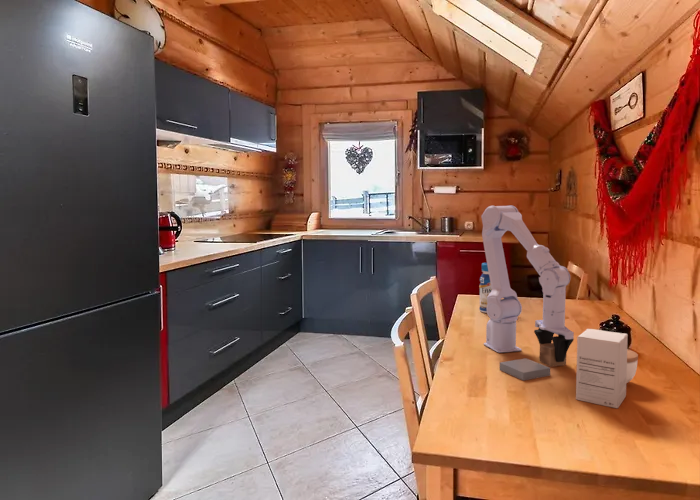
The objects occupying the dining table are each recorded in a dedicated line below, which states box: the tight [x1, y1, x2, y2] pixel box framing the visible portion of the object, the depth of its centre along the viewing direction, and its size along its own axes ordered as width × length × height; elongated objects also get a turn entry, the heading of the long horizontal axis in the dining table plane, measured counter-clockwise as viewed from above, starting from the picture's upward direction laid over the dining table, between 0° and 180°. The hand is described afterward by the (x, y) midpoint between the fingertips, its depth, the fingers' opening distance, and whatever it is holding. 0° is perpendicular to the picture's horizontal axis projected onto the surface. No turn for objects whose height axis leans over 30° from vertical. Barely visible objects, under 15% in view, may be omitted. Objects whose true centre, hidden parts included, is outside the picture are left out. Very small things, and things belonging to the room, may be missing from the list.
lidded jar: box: [626, 348, 639, 384], centre depth 125 cm, size 11×11×9 cm
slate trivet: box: [499, 357, 551, 381], centre depth 133 cm, size 9×9×2 cm
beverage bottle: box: [478, 262, 492, 314], centre depth 206 cm, size 8×8×20 cm
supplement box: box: [575, 328, 629, 409], centre depth 115 cm, size 9×9×15 cm
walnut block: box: [538, 342, 567, 368], centre depth 141 cm, size 5×5×5 cm
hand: (552, 358), depth 141 cm, fingers open, 6 cm apart
